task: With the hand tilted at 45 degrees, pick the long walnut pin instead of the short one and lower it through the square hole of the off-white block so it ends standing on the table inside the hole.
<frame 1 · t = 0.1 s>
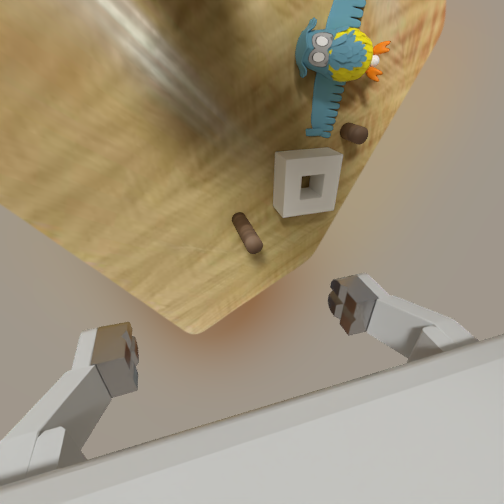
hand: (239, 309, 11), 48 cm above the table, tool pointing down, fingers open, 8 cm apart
long pin: (238, 218, 64), on the table
blue yellow bird figure: (327, 55, 53), on the table
short pin: (346, 130, 61), on the table
hole block: (299, 177, 63), on the table
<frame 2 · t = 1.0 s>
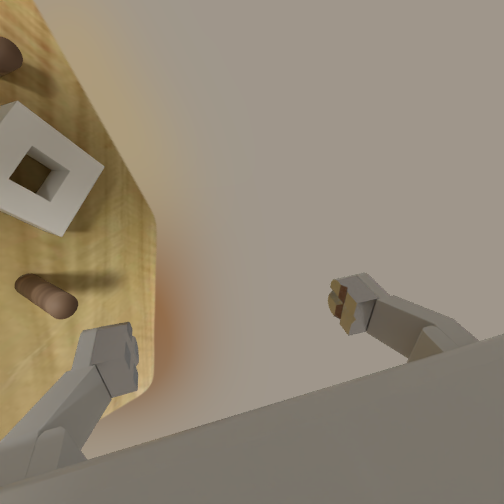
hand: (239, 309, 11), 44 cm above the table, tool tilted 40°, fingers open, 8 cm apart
long pin: (28, 284, 43), on the table
hole block: (24, 173, 40), on the table
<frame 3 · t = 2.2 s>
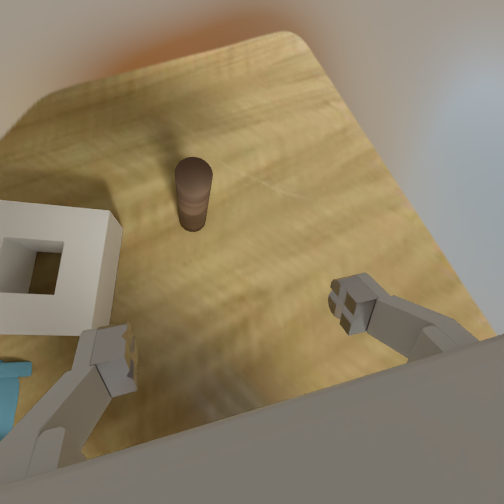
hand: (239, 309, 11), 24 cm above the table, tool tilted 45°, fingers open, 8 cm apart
long pin: (192, 219, 36), on the table
hole block: (57, 275, 32), on the table
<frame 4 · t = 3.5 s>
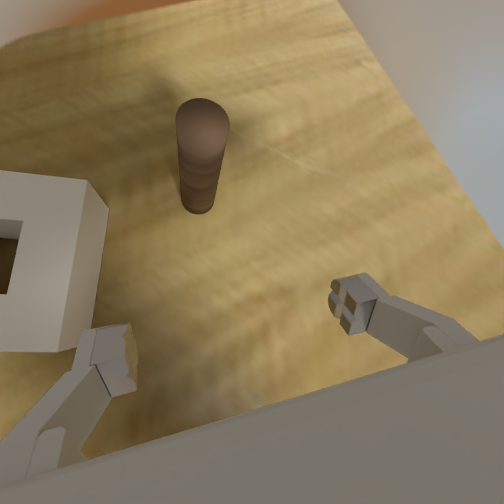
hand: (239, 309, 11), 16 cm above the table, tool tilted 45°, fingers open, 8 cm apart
long pin: (197, 199, 29), on the table
hole block: (22, 268, 24), on the table
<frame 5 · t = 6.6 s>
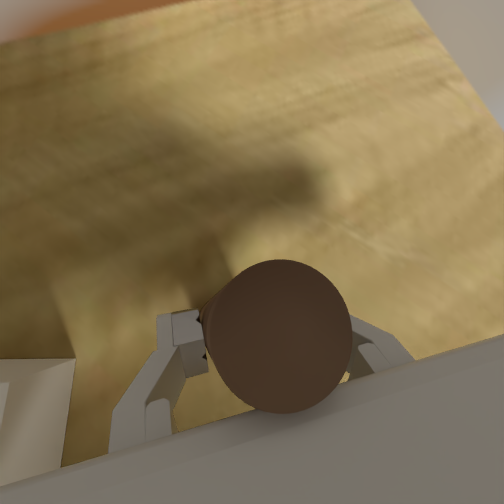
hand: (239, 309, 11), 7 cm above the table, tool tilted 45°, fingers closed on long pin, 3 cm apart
long pin: (224, 322, 18), on the table, touching gripper
when the fingers open (9 cm above the table, at t = 12.7 s): long pin drops 2 cm, resting in hole block.
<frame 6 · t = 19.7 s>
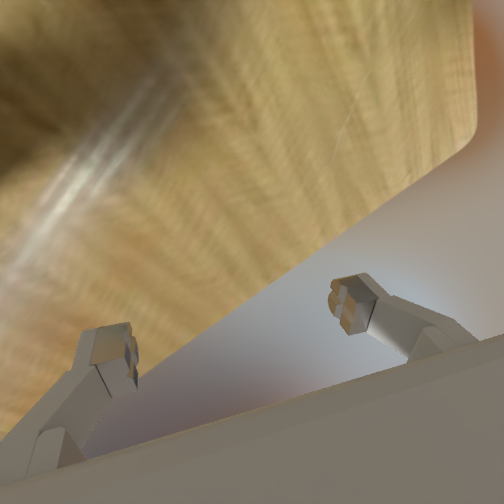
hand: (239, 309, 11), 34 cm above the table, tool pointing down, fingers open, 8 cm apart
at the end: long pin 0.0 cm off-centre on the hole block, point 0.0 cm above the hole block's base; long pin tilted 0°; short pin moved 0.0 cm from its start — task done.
